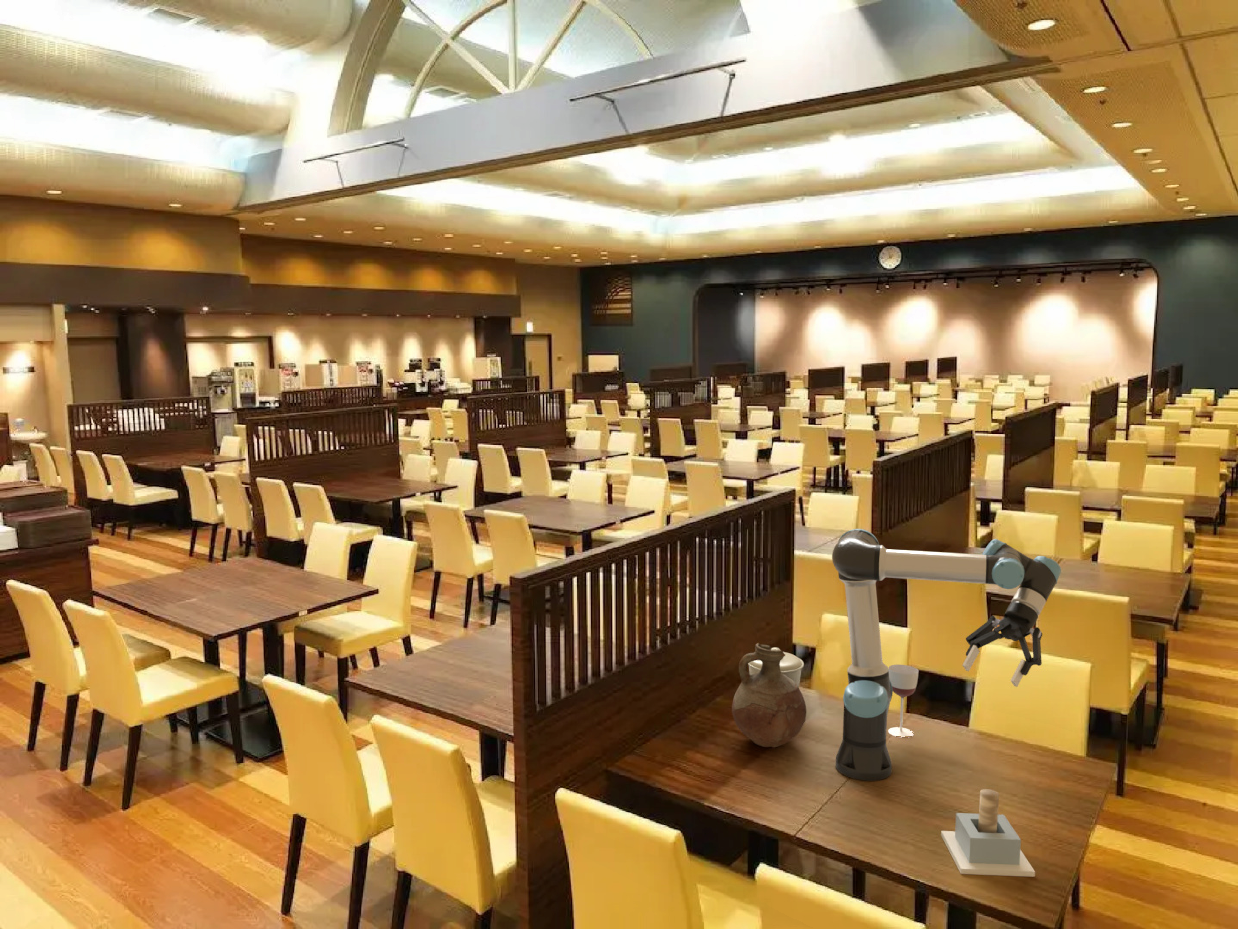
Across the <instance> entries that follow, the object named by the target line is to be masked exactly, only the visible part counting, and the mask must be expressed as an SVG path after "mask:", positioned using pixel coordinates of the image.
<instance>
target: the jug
mask: <svg viewBox="0 0 1238 929" xmlns="http://www.w3.org/2000/svg"><path fill="white" fill-rule="evenodd" d="M754 646H755V650H754V652H750V653H745V654H744V655H743V656H742V657H741V659H740V661H739V663H738V672H739V677H740V681H741V683H740V684H739V686H738V688H737V689H736V691H735V694H734V696H733V700H732V704H731V714H732V716H733V720H734V722H735V725H736V726H737V729H739V731H740V732H741V733H742V734H743V735H745V736H746V737H747V738H748V739H750V740H751V741H752V743H754V744H755V745H757V746H760V747H762V748H769V747H772V748H778V747H780V746H784V744H786V743H788V742H790V741H792V740H793V739H794V738H796V736H798V734H799V733H800V732H801V730H802V728H803V727H804V724H805V722H806V718H807V706H806V701H805V698H804V695H803V693H802V691H801V690H800V686H799V687H798V685H797V683H796V682H794V681H793V680H792V679H790V678H789V677H787V676H786V675H784V674H782V673H781V670H780V661H781V660H782V659H783V657H784V656H785V654H784V653H783V652H784V651H783V650H781V649H780V650H781V651H774V650H771V648H772V647H771V646H770V645H767V644H760V642H757V643H756V644H755V645H754ZM755 660H760V661H762V667H761V670H760V671H759V672H756V673H753V674H749V671H748V669H747V667H748V663H749V662H752V661H755Z"/></svg>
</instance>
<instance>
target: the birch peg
mask: <svg viewBox="0 0 1238 929" xmlns="http://www.w3.org/2000/svg"><path fill="white" fill-rule="evenodd" d="M999 801H1000V794H999V792H997V791H996V790H993V789H989V788H984V789H980V791H979V804H978V805H979V807H978V814H979V822H978V832H979V833H997V821H998V814H999Z"/></svg>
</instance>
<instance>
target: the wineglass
mask: <svg viewBox="0 0 1238 929" xmlns="http://www.w3.org/2000/svg"><path fill="white" fill-rule="evenodd" d="M888 669H889V679H890V682H891V685H892V690H893V693H894V694H896V696H899V697H900V711H899V712H900V715H899V727H898V726H895V727H894V726H893V727H890V728H889V729H887V732H888V733H889V734H890V735H892V736H893V737H896V736H901V737H900V738H902V737H905V736H912V737H913V736H914V735H915V734H913V733H914V732H913V731H912V730H911V729H909V728H906V727H903V723H904V722H903V719H904V698H906V697H910V696H911V695H913V694H914V693H915V692H916V689H917V685H918V679H919V669H918V668H916V667H915V666H912V665H907V664H892V665H889V666H888ZM910 730H911V731H910ZM912 732H913V733H912Z"/></svg>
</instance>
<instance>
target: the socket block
mask: <svg viewBox="0 0 1238 929" xmlns="http://www.w3.org/2000/svg"><path fill="white" fill-rule="evenodd" d="M978 822H979V813H967V812H966V813H965V812H955V829H954V831H953V830H952V831H951V830H941V831H940V833H941V834H940V837H941V838H942V840H943V841H944V842H943V843H944V844H945V846H946V848H947V850H948V852H949V853H950V855H951V857H952V860H953V861H954V864H955V865H956V867H957V869H958V871H959V873H960V875H978V876H979V875H980V876H981V875H983V876H1002V877H1003V876H1007V877H1009V876H1010V877H1036V871H1035V870H1034V868H1033V867H1032V865H1031V863H1030V862H1029V861H1028V859H1027V857H1026V856H1025V854H1024V853H1023V851H1022V850H1021V846H1022V845H1021V844H1022V840H1021V838H1020V836H1019V835H1018V833H1017V832H1016V830H1015V829H1014V828H1013V826H1012V825H1011V823H1010V822H1009V820H1008V818H1007V817H1006V816H1005V814H999V813H998V821H997V833H979V832H978Z"/></svg>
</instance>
